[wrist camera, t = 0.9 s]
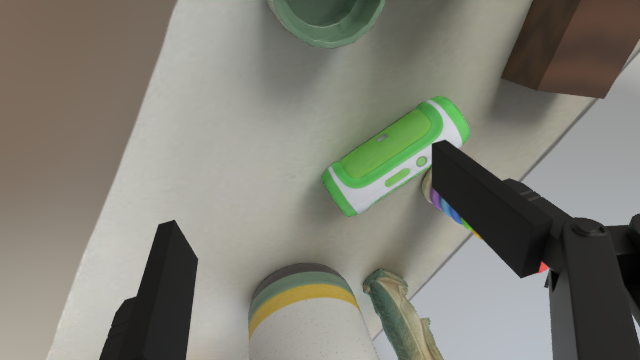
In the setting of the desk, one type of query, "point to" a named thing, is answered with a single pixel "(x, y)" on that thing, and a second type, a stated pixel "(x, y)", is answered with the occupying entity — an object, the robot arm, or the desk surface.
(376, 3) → the sage bowl
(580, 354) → the robot arm
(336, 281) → the vase
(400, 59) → the desk surface
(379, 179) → the speaker
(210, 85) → the desk surface
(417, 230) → the desk surface
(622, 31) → the walnut stand
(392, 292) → the statue
